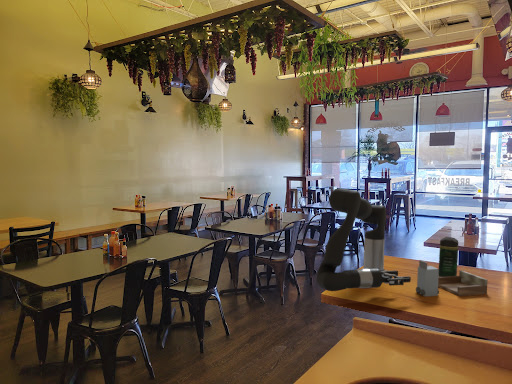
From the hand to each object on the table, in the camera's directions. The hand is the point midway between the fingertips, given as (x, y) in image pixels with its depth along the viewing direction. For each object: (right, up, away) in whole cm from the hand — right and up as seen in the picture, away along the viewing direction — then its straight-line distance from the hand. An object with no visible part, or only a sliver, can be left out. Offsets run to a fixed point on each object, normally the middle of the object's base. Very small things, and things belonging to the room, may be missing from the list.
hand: (403, 276), depth 157 cm
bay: (+28, -8, +9) cm, 30 cm away
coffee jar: (+32, -6, +29) cm, 43 cm away
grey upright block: (+11, -8, +3) cm, 14 cm away
